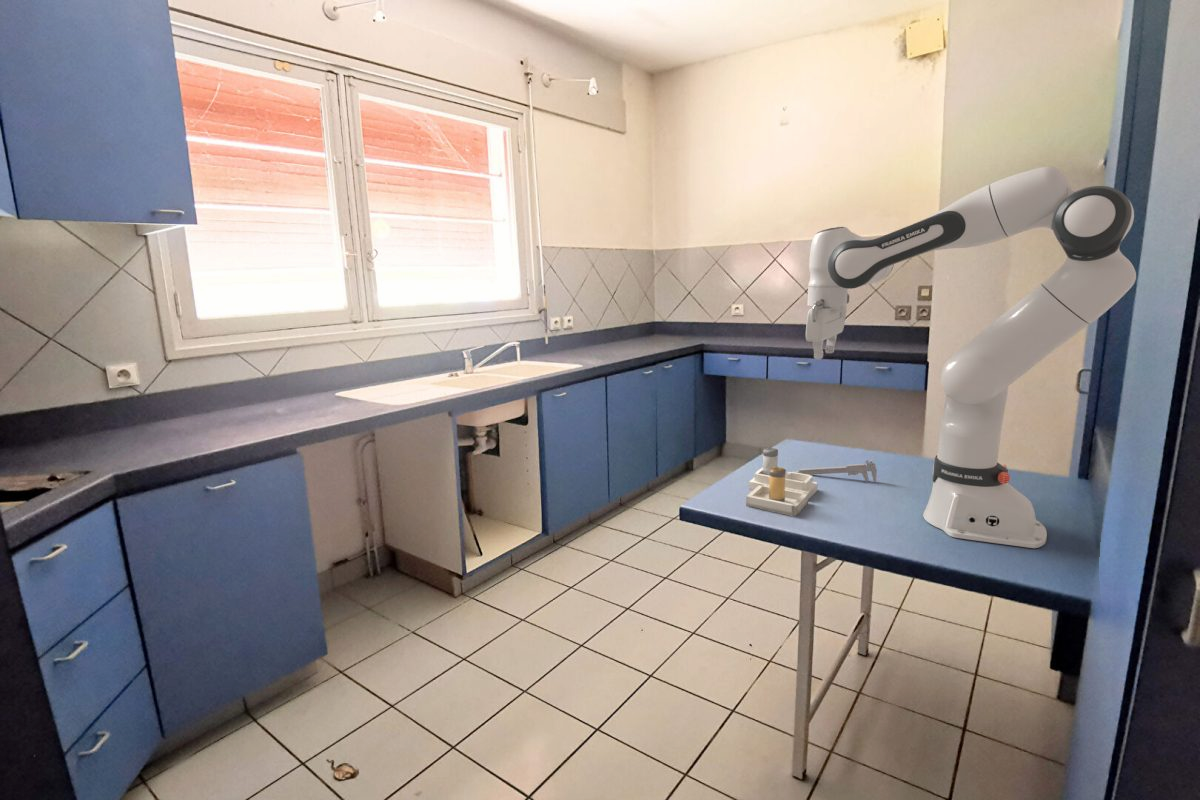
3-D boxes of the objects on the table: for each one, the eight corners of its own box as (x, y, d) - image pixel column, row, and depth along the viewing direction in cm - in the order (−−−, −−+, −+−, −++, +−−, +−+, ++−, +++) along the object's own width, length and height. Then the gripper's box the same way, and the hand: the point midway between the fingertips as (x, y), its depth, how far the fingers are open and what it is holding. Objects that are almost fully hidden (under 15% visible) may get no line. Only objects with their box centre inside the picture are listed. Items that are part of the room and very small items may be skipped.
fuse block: (817, 489, 152) (819, 452, 150) (807, 500, 146) (809, 461, 143) (760, 479, 160) (761, 443, 158) (748, 488, 154) (749, 452, 152)
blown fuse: (786, 500, 144) (787, 468, 142) (781, 505, 141) (782, 473, 140) (771, 497, 146) (772, 466, 145) (766, 502, 144) (767, 470, 142)
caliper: (875, 482, 156) (877, 459, 155) (875, 484, 155) (877, 461, 154) (794, 473, 165) (795, 451, 163) (793, 474, 164) (794, 452, 162)
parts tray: (807, 503, 144) (808, 493, 144) (795, 516, 137) (796, 506, 136) (759, 493, 151) (760, 484, 150) (746, 505, 144) (746, 496, 143)
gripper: (828, 302, 133) (825, 363, 136) (851, 295, 149) (848, 350, 152) (799, 301, 136) (797, 361, 139) (825, 295, 152) (822, 349, 156)
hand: (824, 355), depth 146 cm, fingers open, 8 cm apart
